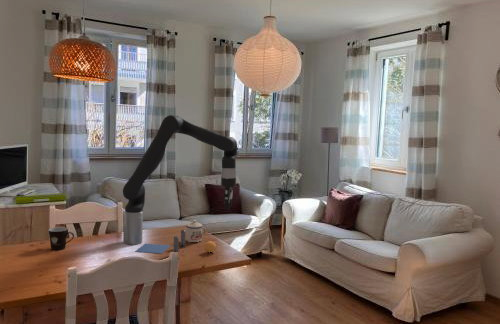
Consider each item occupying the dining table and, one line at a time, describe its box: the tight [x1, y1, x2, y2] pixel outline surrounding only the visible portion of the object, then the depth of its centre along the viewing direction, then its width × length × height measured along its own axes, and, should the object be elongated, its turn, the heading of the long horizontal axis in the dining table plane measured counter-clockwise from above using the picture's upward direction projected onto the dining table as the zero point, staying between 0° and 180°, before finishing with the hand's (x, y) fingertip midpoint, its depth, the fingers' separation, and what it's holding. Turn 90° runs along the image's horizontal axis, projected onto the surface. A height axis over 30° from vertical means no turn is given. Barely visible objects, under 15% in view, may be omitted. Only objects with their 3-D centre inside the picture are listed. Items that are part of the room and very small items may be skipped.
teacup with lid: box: [185, 219, 207, 243], centre depth 225 cm, size 12×9×12 cm
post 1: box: [172, 235, 180, 253], centre depth 200 cm, size 2×2×9 cm
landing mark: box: [134, 242, 171, 255], centre depth 208 cm, size 14×14×1 cm
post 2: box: [180, 229, 187, 248], centre depth 212 cm, size 2×2×9 cm
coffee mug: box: [48, 226, 75, 252], centre depth 200 cm, size 12×9×10 cm
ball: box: [203, 240, 217, 254], centre depth 205 cm, size 6×6×6 cm
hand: (228, 208), depth 204 cm, fingers open, 8 cm apart
